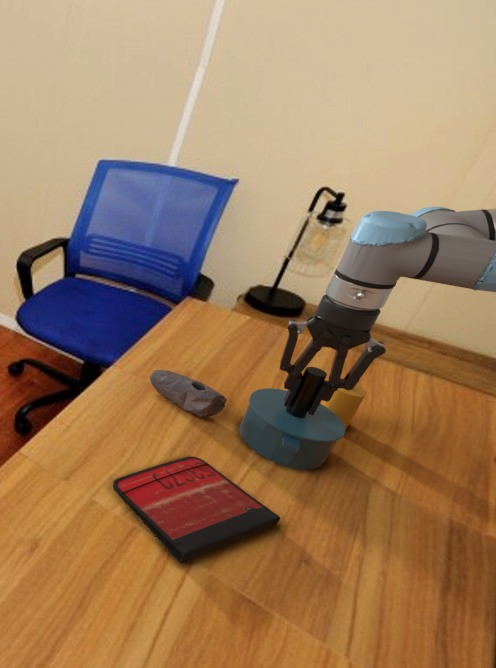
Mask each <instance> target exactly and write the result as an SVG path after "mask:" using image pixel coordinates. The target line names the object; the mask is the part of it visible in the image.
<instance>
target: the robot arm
mask: <svg viewBox="0 0 496 668" xmlns="http://www.w3.org/2000/svg"><path fill="white" fill-rule="evenodd" d="M400 278H407V279H411V280H419V281H422V282H423V281H425V282H428V283H429V282H430V283H435V284H440V285H447V286H451V287H452V286H453V287H459V288H464V289H468V290H472V291H482V292H490V293H491V292H492V293H496V208H495V207H494V208H486V209H485V208H483V209H471V210H461V211H456V210H455V209H450V208H447V207H443V206H427V207H423V208H420V209H418V210H415V211H413V212H412V213H410V214H408V213H407V214H406V213H401V212H399V211H398V212H397V211H390V210H374V211H370V212H367V213H364V215H362V217H361V218H360V220H359V222H358V223H357V224H356V226H355V228H354V230H353V232H352V233H351V235H350V236H349V240H348V242H347V244H346V247H345V248H344V251H343V253H342V256H341V258H340V260H339V263H338V265H337V267H336V269H335V271H334V272H333V274H332V276H331V278H330V280H329V283H328V284H327V286H326V288H325V294H324V295H322V297H321V299H320V301H319V303H318V305H317V307H316V310H315V312H314V314H313V315H312V316H311V317H308V319H306V320H303V321H302V320H300V321H297V320H296V319H292V318H291V319H289V320H288V322H287V323H288V324H287V331H288V336H287V338H286V342H285V346H284V347H283V352H282V355H281V357H280V361H279V369H280V371H281V372H286V373H287V375H286V378H285V380H284V383H283V389H284V390H288V392H287V394H286V396H285V398H284V406H286V407H289V406H290V404H291V402H292V400H293V398H294V396H295V394H296V392H297V390H298V388H299V386H300V384H301V382H302V375H303V373H302V372H304V371H305V369H306V368H307V367H308V365H309V364H310V362H311V361H312V360H313V358H314V357H315V356H316V354H318V352H320V351H321V350H322V349H323V348H331V349H332V350H334V351H335V352H334V356H333V360H332V363H331V368H330V371H329V375H328V380H326V379H325V380H324V382H323V384H322V386H321V388H320V389H319V391H318V393H317V395H316V397H315V399H314V401H313V403H312V405H311V407H310V409H309V410H308V414H310V415H314V414H315V412H316V410H317V408H318V406H319V404H321V403H322V401H326V402H328V401H330V399H331V397H332V396H333V394H334V392H335V391H337V390H338V388H344V389H346V390H352V389H353V387H354V386H355V385H356V383H357V382H358V381H359V380H360V379H361V378H362V377H363V375H364V374H365V373H366V371H367V370H368V369H369V367H370V366H371V364H373V362H374V361H375V359H377V358H379V357H381V356H382V355H384V354H385V353H386V352H387V350H386V345H385V343H384V342H383V341H381V340H379V341H378V340H376V339H374V338H373V337H372V335H371V332H372V331H371V330H372V329H373V327H374V325H375V324H376V321H377V320H378V318H379V316H380V314H381V309H383V308H384V307H385V305H386V303H387V301H388V299H389V297H390V295H391V293H392V291H393V290H394V288H395V287H396V285H397V284H398V283H397V282H398V281H399V280H400ZM305 329H307V330H308V332H309V334H310V336H311V339H310V342H309V343H308V344H307V346H306V347H305V348H304V349H303V351H302V352H301V353H300V355H299V356H298V357H297V358H296V360H294V363H293V364H292V363H291V362H292V358H293V355H294V352H295V348H296V346H297V343H298V339H299V335H300V334H303V333H304V331H305ZM361 345H364V350H362V352H361V354H360V355H359V356H358V357H357V359H356V361H355V362H354V364H352V366H351V367H350V369H349V370H348V372H347V373H346V375H344V377H343V378H341V377H342V374H343V370H344V365H345V362H346V358H347V356H348V353H349V350H351V349H352V350H353V349H354V348H356V347H359V346H361ZM359 382H360V381H359ZM359 382H358V383H359ZM358 383H357V384H358Z"/></svg>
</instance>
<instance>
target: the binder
mask: <svg viewBox="0 0 496 668" xmlns="http://www.w3.org/2000/svg"><path fill="white" fill-rule="evenodd" d="M112 488H113V490H114V491H115V493H116V494H117V495H118V496H119V498H121V499H122V500H123V501H124V503H125V504H126V505H127V506H128V507H129V508H130V509H131V510H132V512H133V513H135V515H137V517H138V518H139V519H140V520H141V521H142V523H143V524H145V525H146V527H148V529H149V530H150V531H151V532H152V533H153V535H154V536H155V537H156V538H157V539H158V540H159V541H160V543H162V545H163V546H164V547H165V548H166V549H167V550H168V552H169V553H171V555H172V556H173V557H174V558H175V559H176V560H177V561H178V562H179V563H184V562H186V561H188V560H191V559H194V558H196V557H199V556H201V555H205V554H207V553H210V552H212V551H214V550H217V549H220V548H222V547H225V546H227V545H229V544H231V543H234V542H237V541H239V540H242V539H244V538H246V537H249V536H252V535H254V534H257V533H259V532H261V531H264V530H266V529H269V528H271V527H275V526H277V525H278V523H279V522H280V521H281V516H280V515H279V514H277V513H275V512H274V511H273V510H271V509H270V508H268V507H267V506H266V505H264V504H263V503H262V502H260V501H259V500H257V499H256V498H255V497H253V496H252V495H251V494H249V493H248V492H247V491H245V490H244V489H242V488H241V487H240V486H239V485H237V484H236V483H235V482H233V481H232V480H231V479H229V478H228V477H227V476H225V475H224V474H223V473H221V472H220V471H218V470H217V469H216V468H214V467H213V466H211V465H210V464H209V463H208V462H207V461H205V460H203V459H202V458H199V457H196V456H186V457H182V458H178V459H173V460H171V461H167V462H164V463H160V464H158V465H154V466H151V467H148V468H145V469H141V470H138V471H136V472H135V471H134V472H132V473H129V474H126V475H123V476H121V477H118V478H116V479H115V480H114V481H113V483H112Z"/></svg>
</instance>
